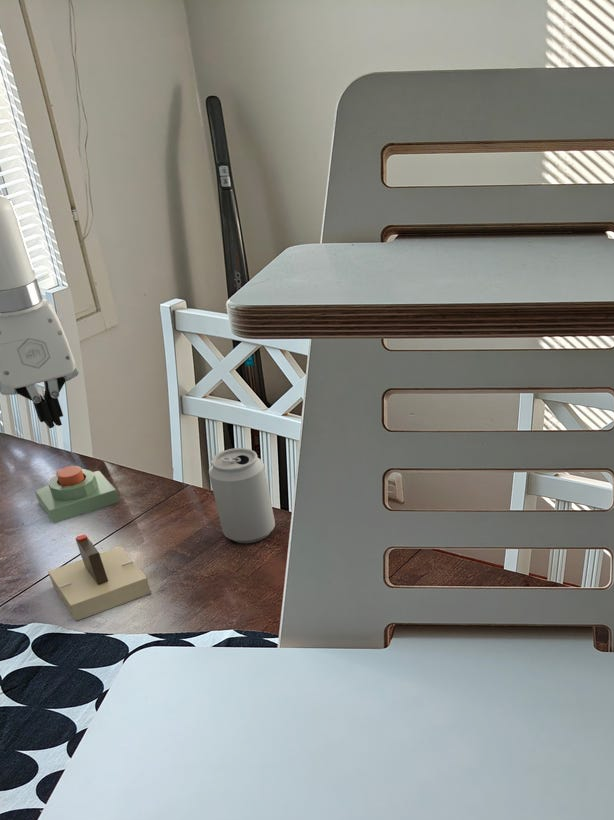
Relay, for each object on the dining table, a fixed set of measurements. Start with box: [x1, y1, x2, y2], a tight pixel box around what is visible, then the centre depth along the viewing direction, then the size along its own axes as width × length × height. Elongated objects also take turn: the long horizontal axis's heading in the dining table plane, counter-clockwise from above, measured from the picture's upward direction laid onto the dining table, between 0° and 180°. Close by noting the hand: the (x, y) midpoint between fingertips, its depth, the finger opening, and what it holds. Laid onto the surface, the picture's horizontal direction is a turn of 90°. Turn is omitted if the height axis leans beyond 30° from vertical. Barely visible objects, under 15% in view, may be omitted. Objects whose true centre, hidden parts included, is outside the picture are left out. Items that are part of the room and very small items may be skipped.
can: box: [208, 447, 276, 544], centre depth 137 cm, size 8×8×12 cm
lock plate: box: [47, 545, 152, 622], centre depth 130 cm, size 10×10×3 cm
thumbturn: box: [75, 533, 108, 585], centre depth 127 cm, size 6×1×5 cm, turn 35°
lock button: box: [55, 465, 84, 486], centre depth 147 cm, size 4×4×2 cm
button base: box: [34, 468, 120, 524], centre depth 149 cm, size 10×8×4 cm
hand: (53, 423), depth 142 cm, fingers closed
